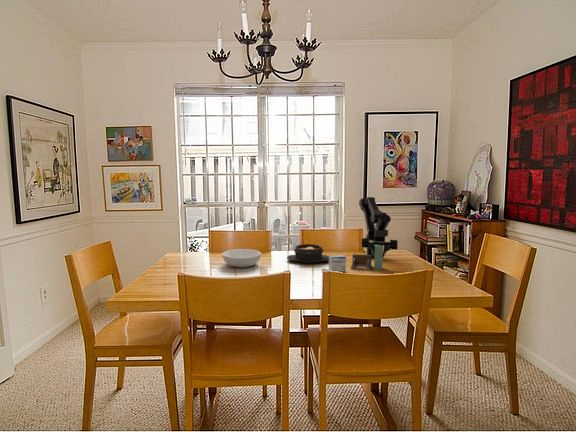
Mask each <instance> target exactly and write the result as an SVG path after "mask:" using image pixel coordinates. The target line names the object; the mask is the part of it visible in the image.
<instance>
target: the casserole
mask: <svg viewBox="0 0 576 432" xmlns="http://www.w3.org/2000/svg"><path fill="white" fill-rule="evenodd" d="M293 251H294V254H290V255H288V256H287V257H286V259H287V260H288V261H293V262H299V263H302V264H315V263H318V262H319V263H320V262H326V261H328V262H329V256H330V255H326V254H323V252H324V249H323V247H322V246H321V245H318V244H315V243H314V244H312V243H307V244H304V243H303V244H298V245H296V246H295V248H294V249H293Z"/></svg>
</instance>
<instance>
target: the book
mask: <svg viewBox="0 0 576 432" xmlns="http://www.w3.org/2000/svg"><path fill="white" fill-rule="evenodd" d="M383 250H384V246H383V245H377V244H375V258H373V260H374V261H373V264H374V265H373V270H374V271H375V270H376V271H383V261H384V260H383V259H384V257H383V258H382V256H383Z"/></svg>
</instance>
